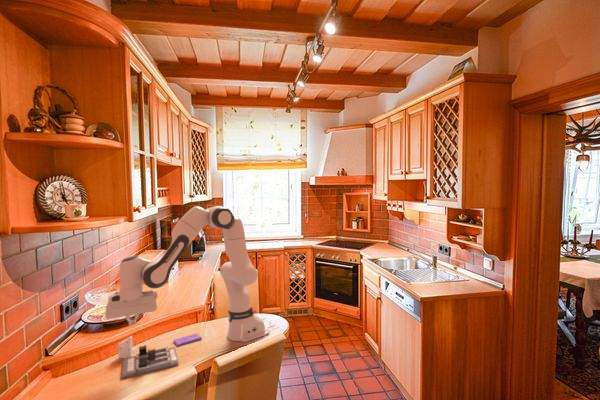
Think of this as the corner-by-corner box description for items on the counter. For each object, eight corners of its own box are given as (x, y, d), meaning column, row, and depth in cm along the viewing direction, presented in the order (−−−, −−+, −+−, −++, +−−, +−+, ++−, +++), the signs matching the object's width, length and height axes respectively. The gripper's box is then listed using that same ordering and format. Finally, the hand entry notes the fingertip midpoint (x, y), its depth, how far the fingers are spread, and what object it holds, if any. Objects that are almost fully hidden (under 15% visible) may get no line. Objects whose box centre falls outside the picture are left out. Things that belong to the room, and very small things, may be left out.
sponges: (201, 340, 169) (201, 336, 169) (177, 347, 161) (177, 344, 161) (197, 336, 175) (197, 332, 175) (173, 343, 167) (173, 339, 167)
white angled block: (140, 352, 151) (130, 337, 151) (121, 364, 151) (111, 348, 151) (143, 348, 155) (133, 333, 155) (125, 360, 155) (116, 344, 154)
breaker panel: (174, 350, 158) (174, 338, 158) (178, 364, 143) (177, 351, 143) (123, 361, 148) (123, 348, 148) (122, 378, 134) (121, 364, 134)
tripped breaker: (155, 357, 148) (154, 346, 148) (155, 359, 145) (155, 349, 145) (148, 358, 147) (147, 348, 147) (148, 361, 144) (147, 350, 144)
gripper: (156, 288, 150) (157, 317, 150) (105, 295, 141) (106, 326, 141) (157, 291, 144) (158, 322, 144) (104, 299, 135) (105, 331, 135)
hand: (132, 324), depth 143 cm, fingers closed
